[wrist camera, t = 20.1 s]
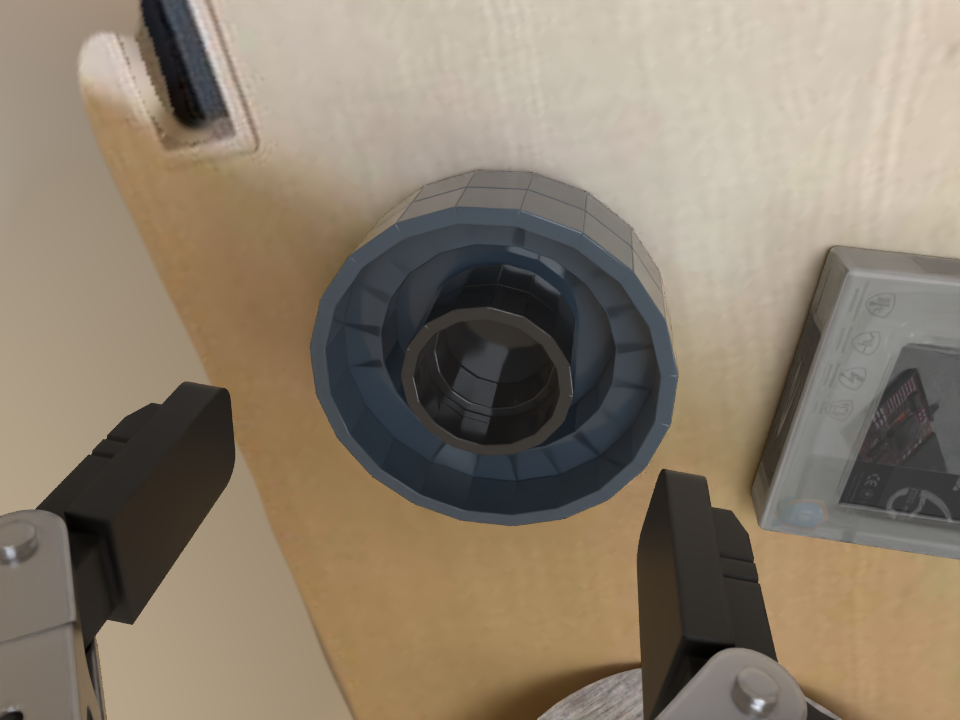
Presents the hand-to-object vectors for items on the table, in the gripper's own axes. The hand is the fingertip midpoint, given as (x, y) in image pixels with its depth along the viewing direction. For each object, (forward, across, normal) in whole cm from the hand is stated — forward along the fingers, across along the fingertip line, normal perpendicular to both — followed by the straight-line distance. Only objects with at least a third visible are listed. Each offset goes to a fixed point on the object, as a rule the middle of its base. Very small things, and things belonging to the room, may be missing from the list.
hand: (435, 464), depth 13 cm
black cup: (+16, 0, +6) cm, 17 cm away
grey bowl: (+17, 0, +6) cm, 18 cm away
